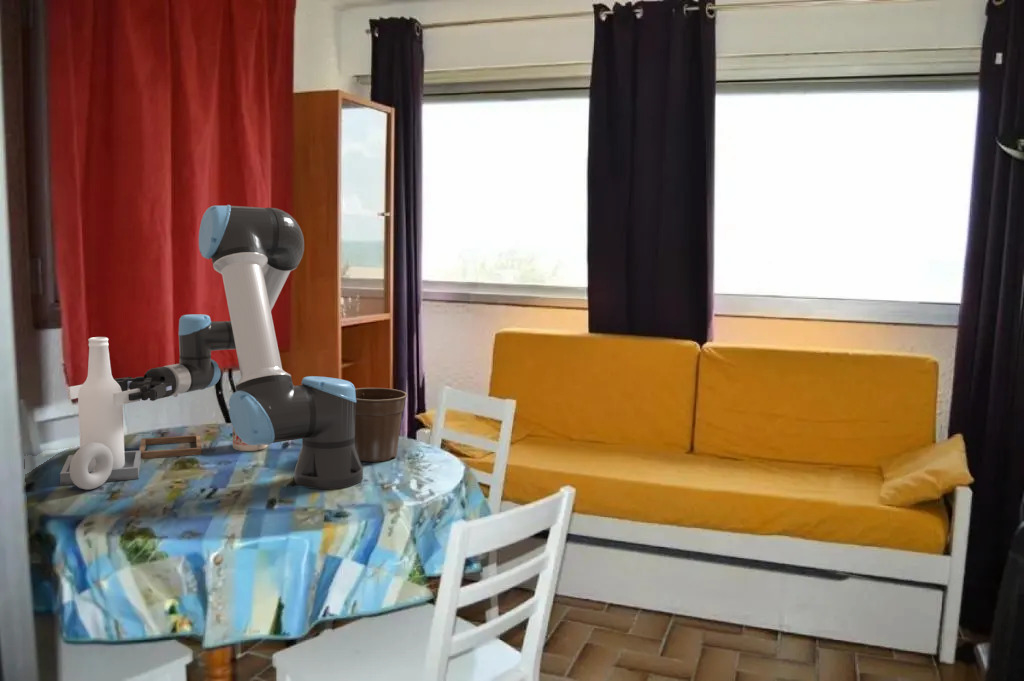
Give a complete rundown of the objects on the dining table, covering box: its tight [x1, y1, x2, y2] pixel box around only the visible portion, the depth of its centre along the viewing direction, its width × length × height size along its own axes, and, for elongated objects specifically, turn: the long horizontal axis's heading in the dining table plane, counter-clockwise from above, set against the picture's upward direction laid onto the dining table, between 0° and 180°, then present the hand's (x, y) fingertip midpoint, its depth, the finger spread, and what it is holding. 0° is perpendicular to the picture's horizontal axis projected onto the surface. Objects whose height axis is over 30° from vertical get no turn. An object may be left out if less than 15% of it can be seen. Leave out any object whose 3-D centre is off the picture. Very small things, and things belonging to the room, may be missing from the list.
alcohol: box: [77, 336, 125, 470], centre depth 174 cm, size 9×9×30 cm
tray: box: [59, 450, 142, 486], centre depth 175 cm, size 15×15×2 cm
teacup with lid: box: [231, 425, 269, 452], centre depth 199 cm, size 12×9×12 cm
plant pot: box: [355, 387, 408, 463], centre depth 195 cm, size 16×16×16 cm
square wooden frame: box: [139, 434, 203, 460], centre depth 196 cm, size 14×14×2 cm
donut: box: [69, 442, 113, 491], centre depth 164 cm, size 10×4×10 cm, turn 161°
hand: (91, 396), depth 171 cm, fingers open, 13 cm apart
